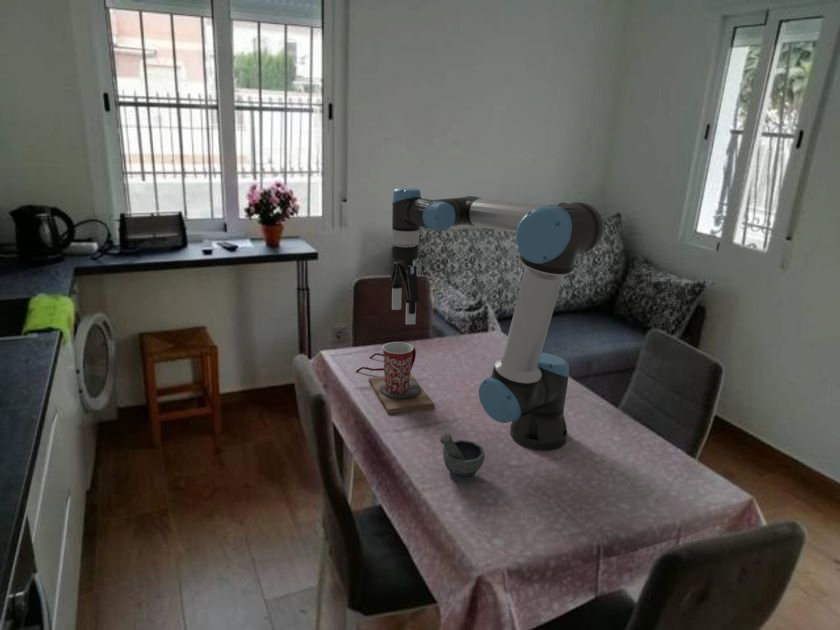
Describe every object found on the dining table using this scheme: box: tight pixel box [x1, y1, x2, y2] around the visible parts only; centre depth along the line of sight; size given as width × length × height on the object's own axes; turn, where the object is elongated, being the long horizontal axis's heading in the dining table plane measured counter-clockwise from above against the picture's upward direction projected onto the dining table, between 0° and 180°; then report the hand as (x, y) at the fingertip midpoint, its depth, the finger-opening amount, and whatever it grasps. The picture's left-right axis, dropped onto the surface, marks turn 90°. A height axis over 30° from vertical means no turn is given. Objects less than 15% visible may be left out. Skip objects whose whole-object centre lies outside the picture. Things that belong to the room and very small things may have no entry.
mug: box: [382, 341, 417, 394], centre depth 181 cm, size 13×9×14 cm
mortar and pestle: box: [439, 433, 486, 484], centre depth 142 cm, size 11×9×12 cm
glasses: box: [355, 352, 384, 373], centre depth 202 cm, size 13×13×5 cm
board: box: [368, 372, 435, 415], centre depth 183 cm, size 22×14×2 cm, turn 19°
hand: (403, 316), depth 175 cm, fingers open, 13 cm apart
